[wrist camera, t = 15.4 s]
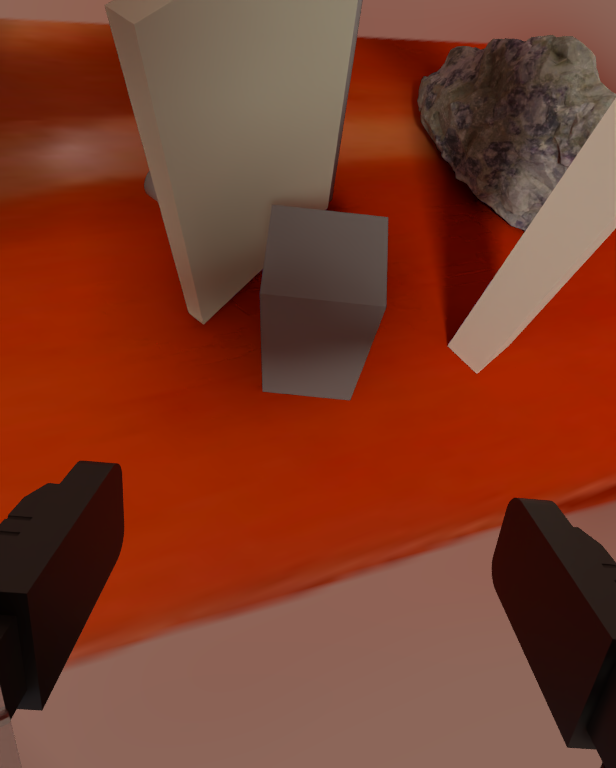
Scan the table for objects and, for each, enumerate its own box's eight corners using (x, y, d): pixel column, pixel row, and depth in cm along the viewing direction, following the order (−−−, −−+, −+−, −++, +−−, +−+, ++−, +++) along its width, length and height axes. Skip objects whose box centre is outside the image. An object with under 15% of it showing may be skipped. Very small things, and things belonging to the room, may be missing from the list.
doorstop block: (350, 400, 30) (386, 306, 20) (262, 391, 29) (259, 293, 20) (353, 331, 31) (388, 217, 22) (271, 322, 31) (272, 204, 22)
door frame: (278, 184, 36) (290, -371, 15) (311, 164, 36) (362, -384, 16) (476, 373, 31) (868, -70, 11) (508, 345, 32) (925, -112, 12)
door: (306, 178, 35) (336, -161, 20) (336, 198, 35) (391, -134, 19) (171, 299, 31) (71, -16, 15) (203, 324, 30) (134, 24, 15)
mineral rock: (406, 105, 40) (447, -47, 30) (539, 103, 41) (618, -44, 32) (441, 242, 35) (503, 110, 25) (591, 236, 36) (703, 107, 27)
